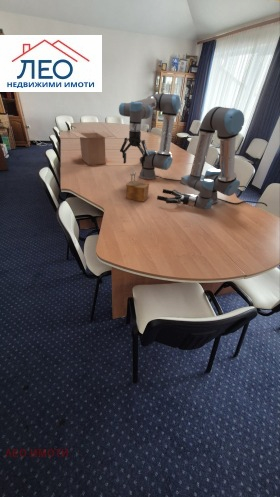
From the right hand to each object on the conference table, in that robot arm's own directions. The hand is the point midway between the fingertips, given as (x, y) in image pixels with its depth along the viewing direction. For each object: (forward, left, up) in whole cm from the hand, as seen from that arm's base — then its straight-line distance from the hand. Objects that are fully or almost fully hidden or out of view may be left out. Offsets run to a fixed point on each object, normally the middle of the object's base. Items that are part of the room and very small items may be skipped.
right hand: (160, 194), depth 158 cm
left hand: (+20, -9, +17) cm, 28 cm away
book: (-39, -45, -7) cm, 59 cm away
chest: (+16, -8, -7) cm, 19 cm away
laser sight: (-2, -99, -7) cm, 99 cm away
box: (+58, -99, -7) cm, 115 cm away
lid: (+16, -8, +3) cm, 18 cm away
